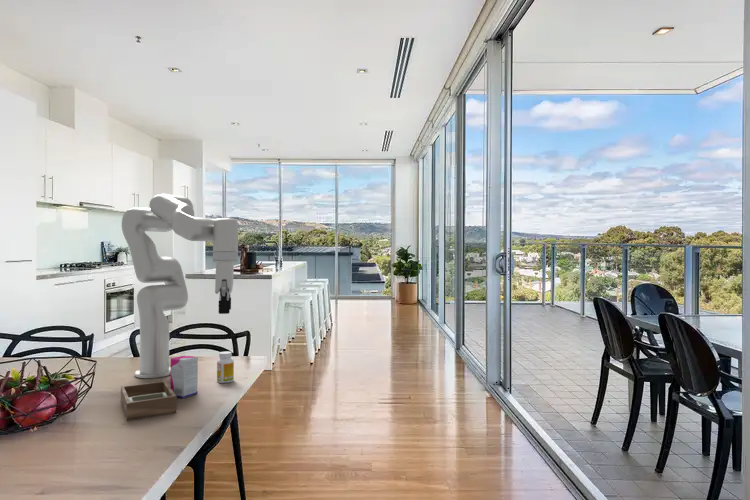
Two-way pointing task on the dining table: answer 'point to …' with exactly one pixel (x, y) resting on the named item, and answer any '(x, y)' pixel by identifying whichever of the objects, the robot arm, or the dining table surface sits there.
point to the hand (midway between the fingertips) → (224, 311)
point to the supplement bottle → (225, 367)
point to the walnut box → (147, 400)
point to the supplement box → (184, 376)
